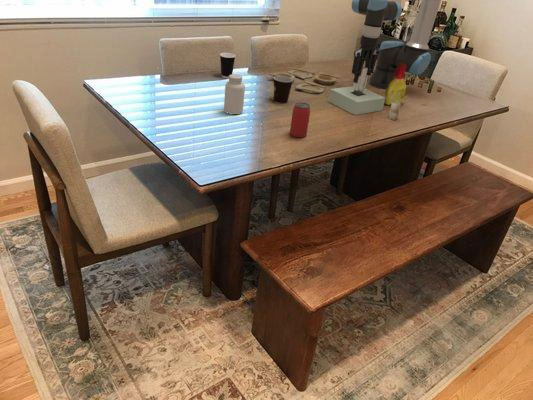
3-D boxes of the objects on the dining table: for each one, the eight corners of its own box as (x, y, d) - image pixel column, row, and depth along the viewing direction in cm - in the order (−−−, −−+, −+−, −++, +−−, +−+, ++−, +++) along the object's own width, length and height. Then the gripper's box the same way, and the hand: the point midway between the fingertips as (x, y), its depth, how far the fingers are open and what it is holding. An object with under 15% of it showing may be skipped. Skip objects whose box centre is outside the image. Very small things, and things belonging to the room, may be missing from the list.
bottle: (387, 107, 207) (398, 65, 196) (378, 102, 212) (388, 61, 201) (405, 105, 213) (416, 63, 202) (395, 100, 217) (406, 60, 207)
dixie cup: (215, 76, 220) (216, 54, 214) (224, 73, 226) (225, 51, 220) (228, 80, 217) (229, 58, 211) (237, 77, 223) (238, 55, 217)
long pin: (356, 95, 204) (363, 65, 197) (362, 98, 201) (369, 68, 194) (350, 96, 202) (357, 66, 195) (356, 99, 199) (363, 68, 192)
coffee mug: (288, 105, 195) (291, 83, 190) (269, 102, 196) (272, 80, 191) (292, 97, 205) (295, 76, 200) (274, 94, 206) (276, 73, 201)
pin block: (355, 97, 215) (358, 85, 211) (382, 110, 202) (385, 97, 199) (328, 101, 205) (330, 88, 202) (354, 115, 193) (357, 102, 190)
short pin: (392, 116, 197) (396, 101, 194) (398, 119, 195) (402, 104, 191) (386, 117, 195) (389, 102, 192) (392, 120, 193) (396, 105, 189)
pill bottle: (228, 116, 177) (230, 79, 169) (220, 109, 183) (222, 73, 175) (246, 114, 180) (248, 78, 172) (238, 107, 186) (240, 72, 178)
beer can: (288, 130, 170) (292, 101, 164) (304, 131, 171) (309, 102, 165) (290, 137, 165) (294, 107, 159) (307, 138, 166) (312, 108, 159)
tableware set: (314, 97, 210) (316, 89, 207) (263, 82, 221) (264, 74, 219) (343, 82, 236) (344, 75, 234) (296, 70, 247) (297, 62, 245)
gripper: (377, 33, 194) (366, 84, 207) (350, 34, 185) (339, 88, 198) (390, 37, 189) (377, 89, 202) (362, 38, 180) (350, 93, 193)
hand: (358, 88), depth 200 cm, fingers closed on long pin, 4 cm apart
